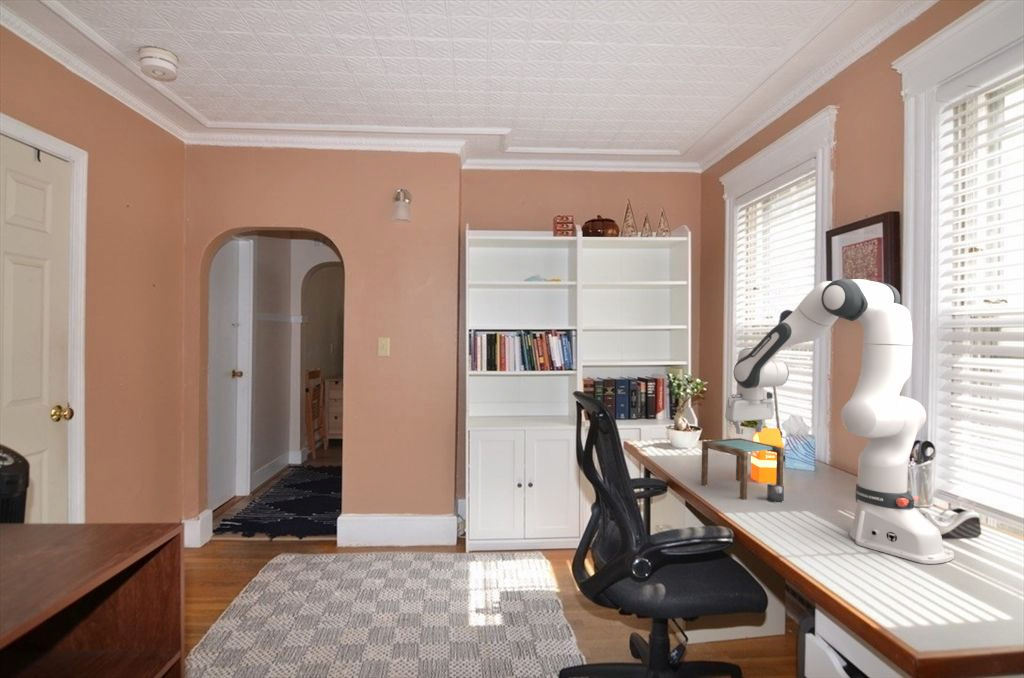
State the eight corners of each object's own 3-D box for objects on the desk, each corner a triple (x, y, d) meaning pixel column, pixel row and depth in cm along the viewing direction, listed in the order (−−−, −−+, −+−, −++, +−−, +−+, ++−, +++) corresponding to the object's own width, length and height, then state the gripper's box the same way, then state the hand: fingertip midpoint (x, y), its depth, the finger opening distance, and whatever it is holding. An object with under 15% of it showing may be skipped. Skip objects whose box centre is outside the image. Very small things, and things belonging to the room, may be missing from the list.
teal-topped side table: (782, 493, 190) (783, 447, 190) (743, 499, 182) (744, 451, 182) (738, 480, 207) (739, 438, 207) (701, 484, 199) (702, 441, 199)
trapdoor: (772, 449, 191) (772, 446, 191) (743, 452, 185) (743, 449, 185) (739, 442, 204) (739, 439, 204) (711, 444, 198) (711, 441, 198)
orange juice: (782, 483, 203) (784, 430, 203) (759, 483, 203) (760, 429, 203) (773, 478, 211) (774, 426, 211) (750, 477, 211) (751, 426, 211)
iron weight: (786, 501, 181) (787, 486, 181) (776, 503, 179) (776, 488, 179) (773, 497, 185) (774, 482, 185) (763, 499, 183) (763, 484, 183)
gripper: (735, 395, 184) (734, 436, 184) (777, 393, 193) (776, 432, 193) (721, 393, 190) (720, 433, 190) (762, 392, 199) (761, 429, 199)
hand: (749, 433), depth 192 cm, fingers open, 8 cm apart
